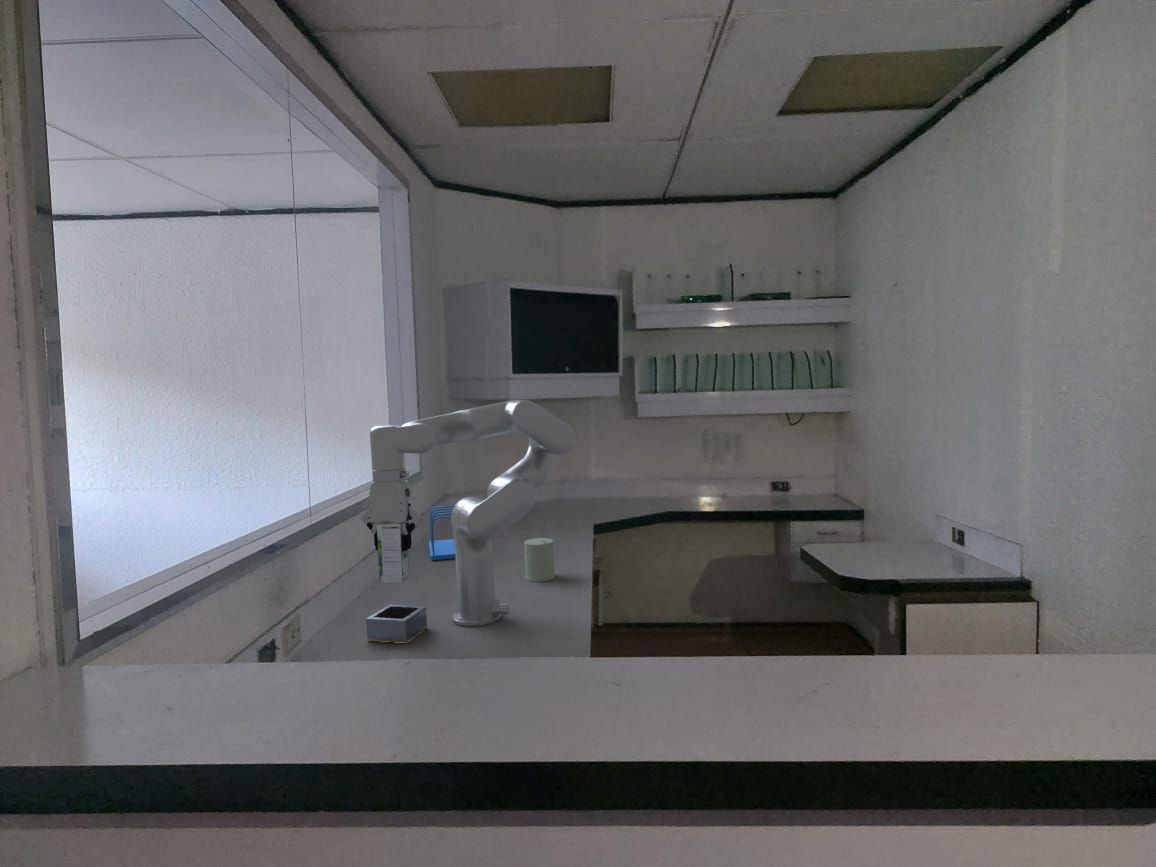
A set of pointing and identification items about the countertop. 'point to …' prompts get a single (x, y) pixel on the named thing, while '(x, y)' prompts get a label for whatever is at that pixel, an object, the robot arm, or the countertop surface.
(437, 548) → the file sorter
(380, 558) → the syrup box
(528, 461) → the robot arm
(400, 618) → the shadow box frame
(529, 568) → the can
